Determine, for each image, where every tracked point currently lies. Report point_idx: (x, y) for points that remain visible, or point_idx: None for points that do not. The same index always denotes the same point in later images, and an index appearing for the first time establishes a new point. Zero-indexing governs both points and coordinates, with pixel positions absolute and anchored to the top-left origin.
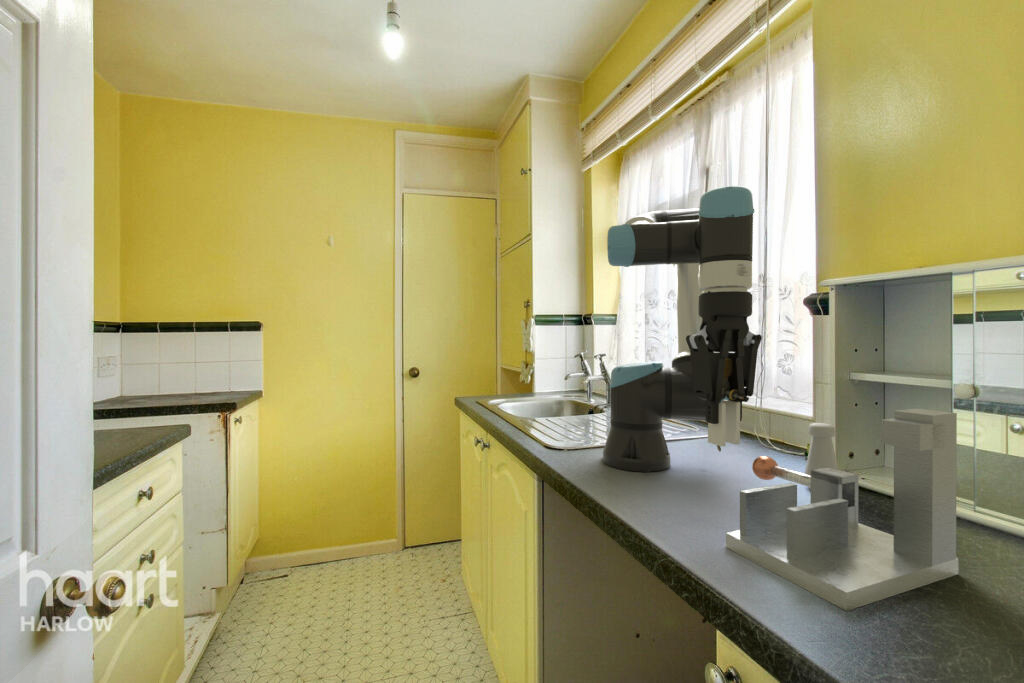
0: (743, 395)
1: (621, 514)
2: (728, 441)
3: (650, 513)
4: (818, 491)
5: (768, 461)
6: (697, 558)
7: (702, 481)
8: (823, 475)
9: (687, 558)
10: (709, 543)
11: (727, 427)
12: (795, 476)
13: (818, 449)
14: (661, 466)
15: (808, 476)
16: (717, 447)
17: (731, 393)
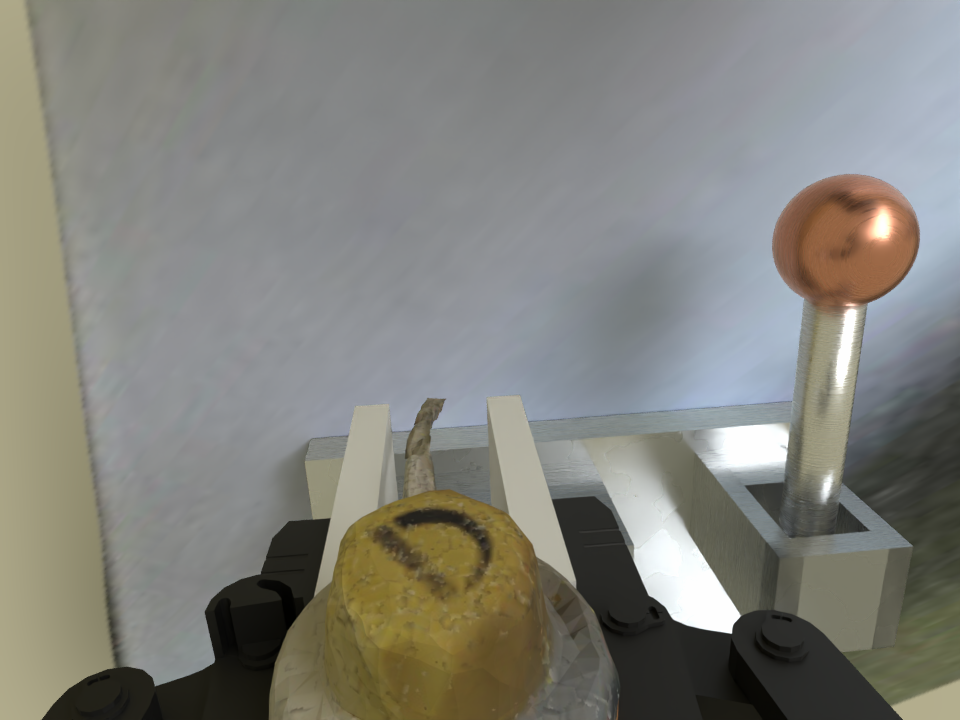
0: None
1: (60, 49)
2: (489, 448)
3: (210, 86)
4: (739, 538)
5: (843, 292)
6: (167, 472)
7: None
8: (770, 602)
9: (134, 465)
10: (276, 402)
11: (497, 491)
12: (801, 428)
13: None
14: None
15: (813, 484)
16: (426, 401)
17: None
